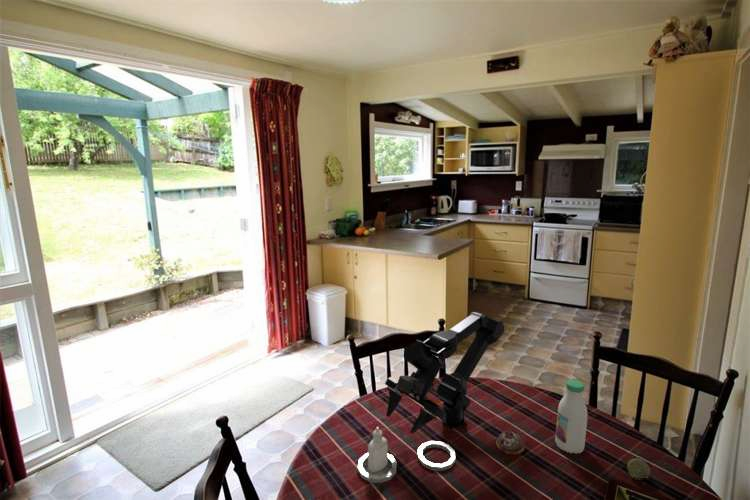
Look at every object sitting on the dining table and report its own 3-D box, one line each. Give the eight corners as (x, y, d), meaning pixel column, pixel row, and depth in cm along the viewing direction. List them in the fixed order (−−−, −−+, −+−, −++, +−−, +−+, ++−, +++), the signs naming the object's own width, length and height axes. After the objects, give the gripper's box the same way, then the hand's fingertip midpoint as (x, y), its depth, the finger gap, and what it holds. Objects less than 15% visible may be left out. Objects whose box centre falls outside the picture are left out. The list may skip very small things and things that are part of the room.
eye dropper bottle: (389, 470, 108) (389, 431, 105) (369, 474, 107) (368, 434, 104) (386, 459, 112) (385, 421, 110) (366, 462, 111) (365, 424, 108)
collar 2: (441, 440, 120) (442, 437, 120) (462, 463, 110) (462, 459, 110) (411, 450, 116) (411, 447, 115) (430, 475, 106) (430, 471, 106)
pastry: (494, 450, 116) (495, 435, 115) (498, 435, 122) (498, 420, 121) (523, 458, 112) (524, 442, 111) (525, 442, 119) (526, 427, 118)
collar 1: (386, 450, 116) (386, 447, 116) (403, 475, 106) (403, 471, 106) (352, 461, 112) (352, 457, 112) (367, 487, 102) (366, 483, 102)
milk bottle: (583, 441, 119) (589, 379, 115) (584, 457, 112) (591, 393, 108) (555, 434, 122) (560, 374, 118) (554, 450, 115) (560, 386, 111)
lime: (651, 480, 104) (654, 464, 103) (637, 485, 102) (639, 468, 101) (636, 468, 108) (638, 452, 107) (622, 472, 107) (624, 456, 106)
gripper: (389, 352, 118) (361, 401, 114) (440, 380, 105) (411, 436, 101) (406, 365, 125) (381, 411, 121) (456, 392, 113) (429, 445, 108)
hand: (399, 424), depth 113 cm, fingers open, 9 cm apart
